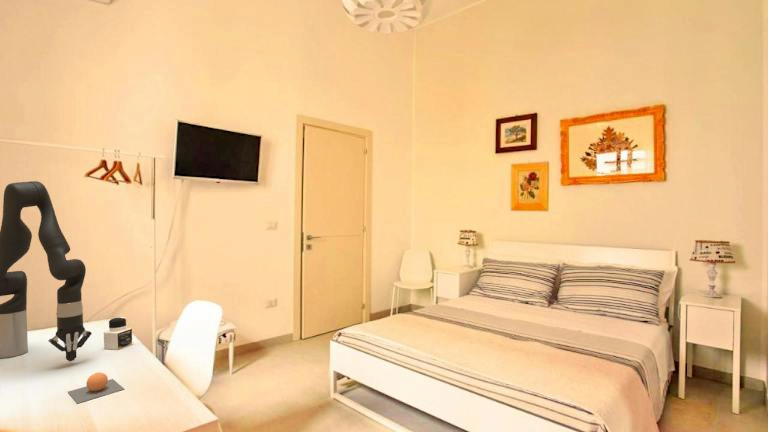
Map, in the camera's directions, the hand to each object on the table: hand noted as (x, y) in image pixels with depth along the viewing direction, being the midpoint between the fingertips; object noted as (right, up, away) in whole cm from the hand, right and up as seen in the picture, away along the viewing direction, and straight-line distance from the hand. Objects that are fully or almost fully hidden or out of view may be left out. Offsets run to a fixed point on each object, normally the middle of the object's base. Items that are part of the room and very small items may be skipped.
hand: (71, 360), depth 146 cm
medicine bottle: (+4, -2, +20) cm, 20 cm away
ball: (+26, +1, -22) cm, 34 cm away
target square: (+25, -2, -22) cm, 34 cm away
